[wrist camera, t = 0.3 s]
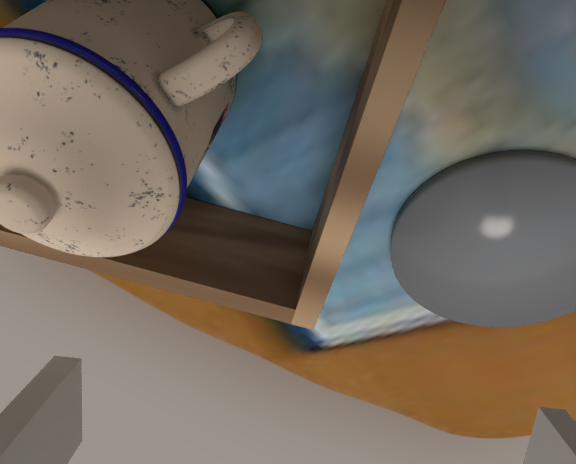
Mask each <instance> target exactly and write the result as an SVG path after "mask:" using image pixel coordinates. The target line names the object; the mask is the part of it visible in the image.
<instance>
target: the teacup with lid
mask: <svg viewBox="0 0 576 464" xmlns="http://www.w3.org/2000/svg"><path fill="white" fill-rule="evenodd" d="M262 39H263V37H262V32H261V30H260V28H259V26H258V24H257V22H256V21H255V19H254V18H253V16H252V15H251V14H249V13H247V12H244V11H237V12H232V13H229V14H227V15H224V16H222V17H220V18H218V19H216V17H215V16H214V14H213V13H212V12H211V10H210V9H209V8H208V7H207V6H206V5H205V4H204V2H203V1H202V0H47V1H46V2H44V3H42V4H41V5H39V6H37V7H36V8H34V9H32V10H31V11H29V12H28V13H26V14H24V15H23V16H21V17H19V18H18V19H16V20H14V21H13V22H11V23H9V24H8V25H6V26H4V27H3V28H0V224H1V225H2V226H4V227H5V228H7V229H9V230H11V231H14V232H17V233H20V234H22V235H24V236H26V237H28V238H30V239H32V240H34V241H36V242H38V243H41V244H43V245H45V246H48V247H51V248H54V249H56V250H60V251H63V252H67V253H71V254H75V255H81V256H88V257H115V256H121V255H126V254H130V253H133V252H136V251H138V250H141V249H143V248H146V247H147V246H149V245H151V244H153V243H154V242H155V241H157V240H158V239H159V238H161V237H162V236H163V235H165V234H166V233H167V232H168V231H169V230H170V229H171V228H172V227H173V225H174V224H175V223H176V221H177V220H178V218H179V216H180V214H181V212H182V209H183V207H184V204H185V199H186V194H187V187H188V185H189V184H190V182H191V180H192V178H193V176H194V174H195V172H196V171H197V169H198V167H199V165H200V163H201V161H202V159H203V158H204V156H205V154H206V152H207V150H208V148H209V147H210V145H211V143H212V141H213V139H214V137H215V135H216V134H217V132H218V130H219V128H220V126H221V124H222V122H223V121H224V119H225V117H226V115H227V113H228V111H229V109H230V107H231V104H232V101H233V98H234V94H235V88H236V74H237V73H238V72H240V71H241V70H242V69H243V68H244V67H245V66H246V65H248V64H249V63H250V61H251V60H252V59H253V58H254V57H255V55H256V54H257V52H258V51H259V49H260V47H261V44H262Z"/></svg>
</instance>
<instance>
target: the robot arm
mask: <svg viewBox="0 0 576 464" xmlns="http://www.w3.org/2000/svg"><path fill="white" fill-rule="evenodd" d="M81 374H82V373H81V359H79V358H69V357H60V356H54V357H53V358H52V359H51V360H50V361H49V362H48V363H47V365H46V366H45V367H44V368H43V369H42V370H41V371H40V372H39V373H38V374H37V375H36V376H35V377H34V378H33V379H32V381H31V382H30V383H29V384H28V385H27V386H26V387H25V388H24V389H23V390H22V391H21V392H20V393H19V394H18V395H17V396H16V397H15V398H14V400H13V401H12V402H11V403H10V404H9V405H8V406H7V407H6V408H5V409H4V410H3V411H2V412H1V413H0V464H68V462H69V460H70V459H71V457H72V456H73V454H74V453H75V451H76V449H77V448H78V446H79V445H80V443H81V442H82V388H81V387H82V375H81ZM523 464H576V422H575V421H574V419H573V418H572V417H571V416H570V415H569V413H568V412H567V411H566V410H564V409H554V408H545V407H539V408H538V411H537V415H536V419H535V422H534V426H533V430H532V434H531V437H530V441H529V445H528V448H527V452H526V456H525V460H524V463H523Z"/></svg>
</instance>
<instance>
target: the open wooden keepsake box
mask: <svg viewBox="0 0 576 464" xmlns="http://www.w3.org/2000/svg"><path fill="white" fill-rule="evenodd" d="M445 1H446V0H387V2H386V5H385V8H384V11H383V14H382V17H381V20H380V23H379V26H378V30H377V33H376V36H375V39H374V42H373V45H372V48H371V51H370V54H369V57H368V60H367V64H366V67H365V70H364V73H363V76H362V79H361V82H360V85H359V88H358V91H357V94H356V98H355V101H354V104H353V107H352V110H351V113H350V116H349V119H348V122H347V125H346V128H345V132H344V135H343V138H342V141H341V144H340V147H339V150H338V153H337V156H336V159H335V162H334V166H333V169H332V172H331V175H330V178H329V181H328V184H327V187H326V190H325V193H324V196H323V199H322V203H321V206H320V209H319V212H318V215H317V218H316V221H315V224H314V227H313V230H312V231H309V230H305V229H301V228H298V227H294V226H290V225H287V224H283V223H279V222H276V221H272V220H268V219H264V218H261V217H257V216H253V215H250V214H246V213H242V212H239V211H235V210H231V209H228V208H224V207H220V206H216V205H213V204H209V203H205V202H202V201H198V200H194V199H191V198H187V197H186V199H185V204H184V207H183V209H182V212H181V214H180V216H179V218H178V220H177V221H176V223H175V224H174V225H173V227H172V228H171V229H170V230H169V231H168V232H167V233H166V234H165V235H163V236H162V237H161V238H159V239H158V240H157V241H155V242H154V243H153V244H151V245H149V246H147V247H146V248H143V249H141V250H138V251H136V252H133V253H130V254H126V255H121V256H115V257H88V256H81V255H75V254H71V253H67V252H63V251H60V250H56V249H54V248H51V247H48V246H45V245H43V244H41V243H38V242H36V241H34V240H32V239H30V238H28V237H26V236H24V235H22V234H20V233H17V232H14V231H11V230H9V229H7V228H5V227H4V226H2V225H1V224H0V246H3V247H7V248H10V249H14V250H18V251H22V252H25V253H29V254H33V255H36V256H40V257H44V258H48V259H52V260H55V261H59V262H62V263H66V264H70V265H74V266H77V267H81V268H85V269H88V270H92V271H96V272H100V273H103V274H107V275H111V276H114V277H118V278H122V279H126V280H129V281H133V282H137V283H140V284H144V285H148V286H152V287H155V288H159V289H163V290H167V291H170V292H174V293H178V294H181V295H185V296H189V297H193V298H196V299H200V300H204V301H207V302H211V303H215V304H219V305H222V306H226V307H230V308H233V309H237V310H241V311H245V312H248V313H252V314H256V315H259V316H263V317H267V318H271V319H274V320H278V321H282V322H285V323H289V324H293V325H297V326H300V327H304V328H308V329H311V330H314V327H315V325H316V322H317V320H318V317H319V315H320V312H321V310H322V307H323V305H324V302H325V300H326V297H327V295H328V292H329V290H330V287H331V285H332V282H333V280H334V277H335V275H336V272H337V270H338V267H339V265H340V263H341V260H342V258H343V255H344V253H345V250H346V248H347V245H348V243H349V240H350V238H351V235H352V233H353V230H354V228H355V225H356V223H357V220H358V218H359V215H360V213H361V210H362V208H363V205H364V203H365V200H366V198H367V195H368V193H369V190H370V188H371V185H372V183H373V180H374V178H375V175H376V173H377V170H378V168H379V165H380V163H381V160H382V158H383V155H384V153H385V150H386V148H387V145H388V143H389V140H390V138H391V135H392V133H393V130H394V128H395V125H396V123H397V121H398V118H399V116H400V113H401V111H402V108H403V106H404V103H405V101H406V98H407V96H408V93H409V91H410V88H411V86H412V83H413V81H414V78H415V76H416V73H417V71H418V68H419V66H420V63H421V61H422V58H423V56H424V53H425V51H426V48H427V46H428V43H429V41H430V38H431V36H432V33H433V31H434V28H435V26H436V23H437V21H438V18H439V16H440V13H441V11H442V8H443V6H444V3H445Z"/></svg>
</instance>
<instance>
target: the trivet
mask: <svg viewBox="0 0 576 464" xmlns="http://www.w3.org/2000/svg"><path fill="white" fill-rule="evenodd" d="M391 261H392V267H393V270H394V273H395V276H396V278H397V280H398V281H399V283H400V285H401V286H402V288H403V289H404V290H405V291H406V293H407V294H408V295H409V296H410V297H411V298H412V299H414V300H415V301H416V302H417V303H419V304H420V305H421V306H423V307H424V308H426V309H428V310H429V311H431V312H433V313H435V314H437V315H440V316H442V317H444V318H447V319H450V320H453V321H456V322H461V323H465V324H470V325H477V326H485V327H514V326H524V325H530V324H535V323H540V322H544V321H548V320H552V319H555V318H558V317H561V316H563V315H566V314H568V313H571V312H573V311H575V310H576V159H573V158H570V157H567V156H564V155H559V154H554V153H550V152H542V151H531V150H525V151H505V152H497V153H491V154H487V155H482V156H478V157H475V158H471V159H468V160H465V161H462V162H460V163H458V164H455V165H453V166H451V167H449V168H446V169H445V170H443V171H441V172H440V173H438V174H436V175H435V176H433V177H431V178H430V179H429V180H427V181H426V182H425V183H424V184H422V185H421V186H420V187H419V188H418V189H417V190H416V191H415V192H414V193H413V194H412V195H411V196H410V197H409V198H408V200H407V201H406V202H405V203H404V205H403V206H402V208H401V210H400V212H399V213H398V215H397V218H396V220H395V223H394V226H393V231H392V236H391Z"/></svg>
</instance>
